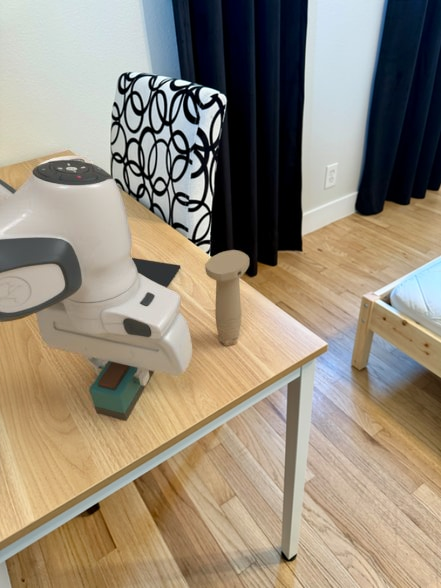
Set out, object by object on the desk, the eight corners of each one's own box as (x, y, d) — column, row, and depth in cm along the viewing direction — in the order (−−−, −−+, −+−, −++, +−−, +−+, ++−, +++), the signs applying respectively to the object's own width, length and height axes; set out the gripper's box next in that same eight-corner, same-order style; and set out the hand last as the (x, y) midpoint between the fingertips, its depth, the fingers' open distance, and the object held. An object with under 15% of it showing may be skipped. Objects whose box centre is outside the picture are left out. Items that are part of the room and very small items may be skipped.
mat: (27, 296, 79) (26, 293, 79) (75, 251, 91) (74, 248, 91) (146, 319, 73) (145, 316, 73) (180, 267, 85) (180, 265, 85)
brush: (96, 413, 58) (87, 385, 55) (127, 365, 65) (120, 337, 61) (126, 421, 57) (118, 392, 53) (154, 371, 64) (149, 343, 60)
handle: (253, 337, 69) (256, 259, 60) (224, 357, 66) (221, 278, 56) (233, 323, 72) (232, 246, 62) (203, 341, 68) (198, 263, 59)
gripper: (12, 300, 51) (45, 377, 59) (172, 332, 46) (183, 412, 54) (44, 270, 55) (70, 346, 64) (193, 296, 50) (199, 375, 59)
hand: (123, 376), depth 59 cm, fingers closed on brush, 4 cm apart
